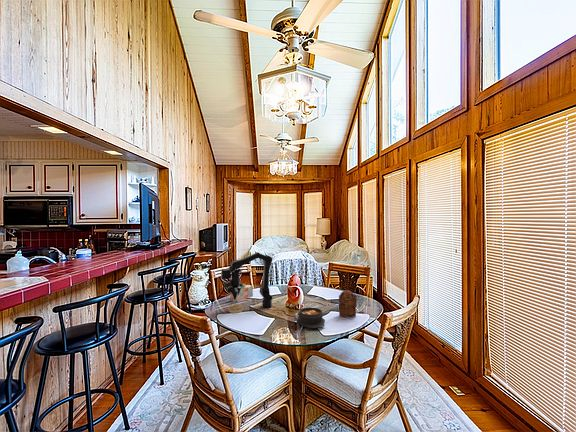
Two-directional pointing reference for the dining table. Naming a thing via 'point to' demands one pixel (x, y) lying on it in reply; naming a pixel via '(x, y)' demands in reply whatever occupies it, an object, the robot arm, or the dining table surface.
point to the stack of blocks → (243, 293)
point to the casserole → (311, 317)
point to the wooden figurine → (347, 304)
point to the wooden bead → (235, 308)
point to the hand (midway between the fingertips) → (235, 298)
